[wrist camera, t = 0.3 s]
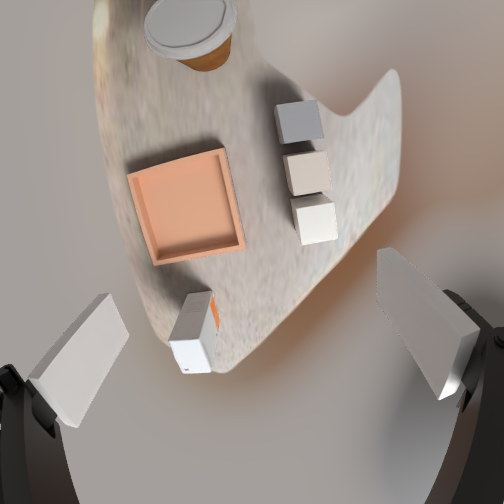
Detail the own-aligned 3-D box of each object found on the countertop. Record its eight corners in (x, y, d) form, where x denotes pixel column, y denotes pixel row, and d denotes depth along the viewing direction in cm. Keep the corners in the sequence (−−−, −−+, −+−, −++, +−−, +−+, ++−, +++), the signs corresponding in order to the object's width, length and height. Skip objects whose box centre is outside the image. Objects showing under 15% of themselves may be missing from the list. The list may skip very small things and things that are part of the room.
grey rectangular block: (273, 111, 32) (276, 104, 26) (307, 107, 32) (316, 99, 26) (280, 144, 34) (284, 143, 28) (313, 139, 33) (324, 138, 28)
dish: (134, 172, 35) (126, 175, 33) (225, 147, 34) (222, 147, 32) (159, 259, 40) (153, 266, 38) (246, 242, 39) (245, 249, 36)
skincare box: (222, 320, 44) (212, 373, 33) (197, 323, 44) (181, 374, 33) (213, 288, 42) (199, 338, 30) (187, 292, 42) (166, 340, 31)
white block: (290, 199, 36) (296, 208, 31) (322, 193, 36) (334, 202, 30) (295, 230, 38) (301, 245, 32) (326, 224, 38) (337, 238, 32)
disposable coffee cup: (210, 95, 31) (189, 72, 20) (159, 61, 29) (121, 33, 18) (257, 45, 28) (257, 5, 17) (204, 14, 26) (184, -28, 15)
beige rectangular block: (282, 155, 34) (287, 156, 29) (315, 150, 34) (326, 151, 28) (288, 188, 36) (294, 196, 30) (320, 182, 35) (332, 189, 30)
